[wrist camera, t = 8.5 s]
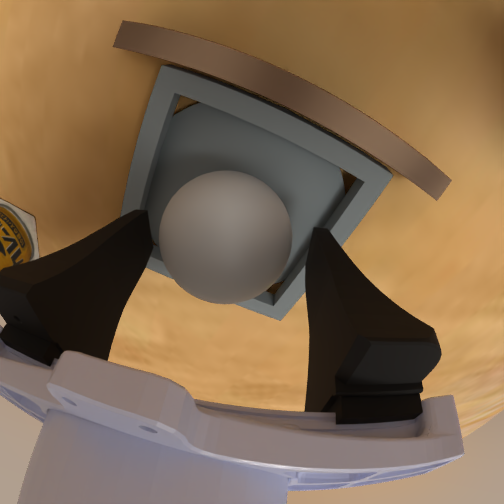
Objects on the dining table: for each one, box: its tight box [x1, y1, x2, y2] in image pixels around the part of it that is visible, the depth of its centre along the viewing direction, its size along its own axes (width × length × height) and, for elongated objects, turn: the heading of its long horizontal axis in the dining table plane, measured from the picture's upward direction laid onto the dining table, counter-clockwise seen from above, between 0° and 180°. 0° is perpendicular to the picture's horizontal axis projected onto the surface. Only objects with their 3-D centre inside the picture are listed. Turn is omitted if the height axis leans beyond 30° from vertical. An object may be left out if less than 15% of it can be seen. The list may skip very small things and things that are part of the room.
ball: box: [159, 171, 292, 304], centre depth 12 cm, size 6×6×6 cm
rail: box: [113, 21, 452, 201], centre depth 10 cm, size 15×1×2 cm, turn 66°
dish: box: [120, 64, 394, 321], centre depth 14 cm, size 11×11×1 cm
